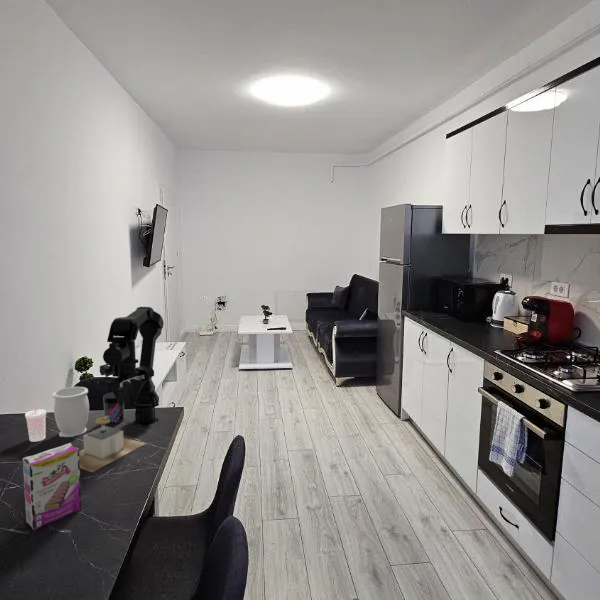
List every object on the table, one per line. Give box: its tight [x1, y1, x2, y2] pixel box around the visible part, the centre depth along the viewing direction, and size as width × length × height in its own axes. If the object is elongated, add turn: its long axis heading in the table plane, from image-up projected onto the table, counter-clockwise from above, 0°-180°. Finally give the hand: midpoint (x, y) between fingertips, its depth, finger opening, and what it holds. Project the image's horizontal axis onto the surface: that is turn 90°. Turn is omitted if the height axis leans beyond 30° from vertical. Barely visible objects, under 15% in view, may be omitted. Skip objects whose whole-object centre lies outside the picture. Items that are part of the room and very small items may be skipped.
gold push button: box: [95, 415, 110, 433], centre depth 138 cm, size 5×5×7 cm
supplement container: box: [102, 392, 125, 425], centre depth 162 cm, size 7×7×10 cm
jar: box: [52, 386, 90, 438], centre depth 152 cm, size 11×10×15 cm
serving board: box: [79, 436, 146, 473], centre depth 139 cm, size 20×14×1 cm
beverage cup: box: [24, 397, 47, 443], centre depth 148 cm, size 6×6×14 cm
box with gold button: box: [82, 425, 124, 460], centre depth 138 cm, size 8×10×7 cm
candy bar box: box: [22, 442, 82, 531], centre depth 108 cm, size 11×5×16 cm, turn 141°
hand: (127, 403), depth 146 cm, fingers open, 5 cm apart
